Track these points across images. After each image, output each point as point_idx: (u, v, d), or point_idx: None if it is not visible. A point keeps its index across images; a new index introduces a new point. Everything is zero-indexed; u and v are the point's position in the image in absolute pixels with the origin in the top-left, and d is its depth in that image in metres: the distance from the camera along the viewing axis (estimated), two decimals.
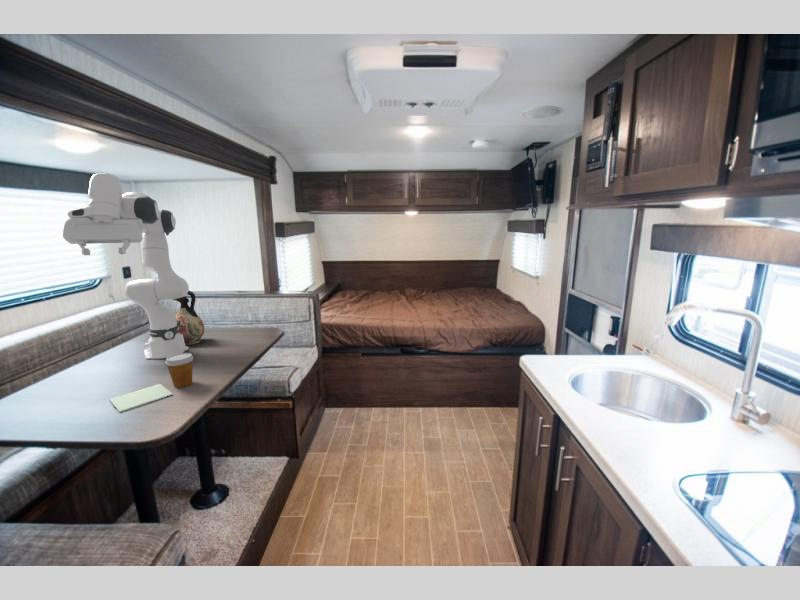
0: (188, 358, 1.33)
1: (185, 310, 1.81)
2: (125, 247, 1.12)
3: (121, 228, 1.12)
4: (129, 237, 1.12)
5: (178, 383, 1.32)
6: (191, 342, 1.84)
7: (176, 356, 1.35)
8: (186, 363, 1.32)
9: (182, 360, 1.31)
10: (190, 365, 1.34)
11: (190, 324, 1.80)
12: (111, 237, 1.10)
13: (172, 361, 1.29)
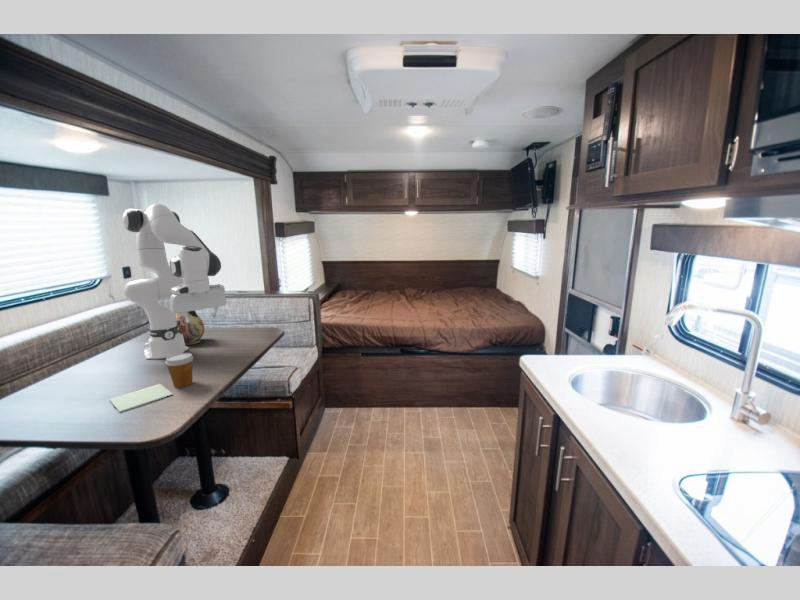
0: (188, 358, 1.33)
1: None
2: None
3: (214, 298, 1.39)
4: (220, 305, 1.41)
5: (178, 383, 1.32)
6: (191, 342, 1.84)
7: (176, 356, 1.35)
8: (186, 363, 1.32)
9: (182, 360, 1.31)
10: (190, 365, 1.34)
11: (190, 324, 1.80)
12: (208, 307, 1.38)
13: (172, 361, 1.29)
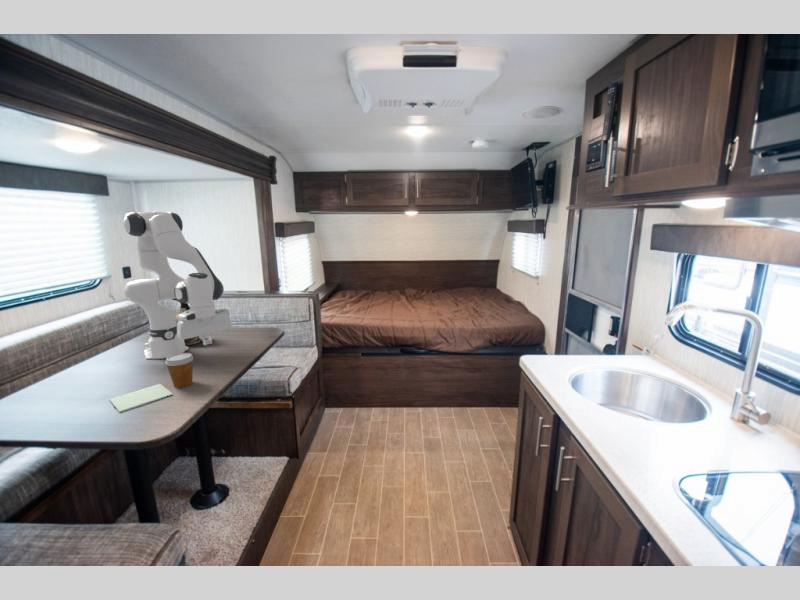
0: (188, 358, 1.33)
1: (185, 310, 1.81)
2: None
3: (219, 323, 1.42)
4: (225, 329, 1.45)
5: (178, 383, 1.32)
6: (191, 342, 1.84)
7: (176, 356, 1.35)
8: (186, 363, 1.32)
9: (182, 360, 1.31)
10: (190, 365, 1.34)
11: None
12: (214, 331, 1.41)
13: (172, 361, 1.29)
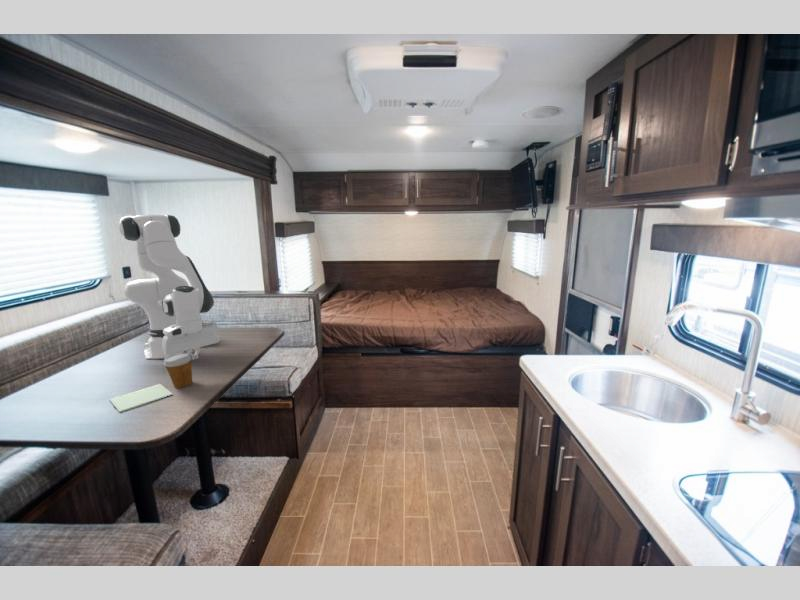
0: (186, 358, 1.32)
1: None
2: None
3: (206, 337, 1.39)
4: (213, 343, 1.41)
5: (178, 383, 1.32)
6: None
7: (174, 356, 1.34)
8: (184, 363, 1.31)
9: (180, 360, 1.30)
10: (188, 365, 1.33)
11: None
12: (200, 346, 1.38)
13: (170, 362, 1.29)
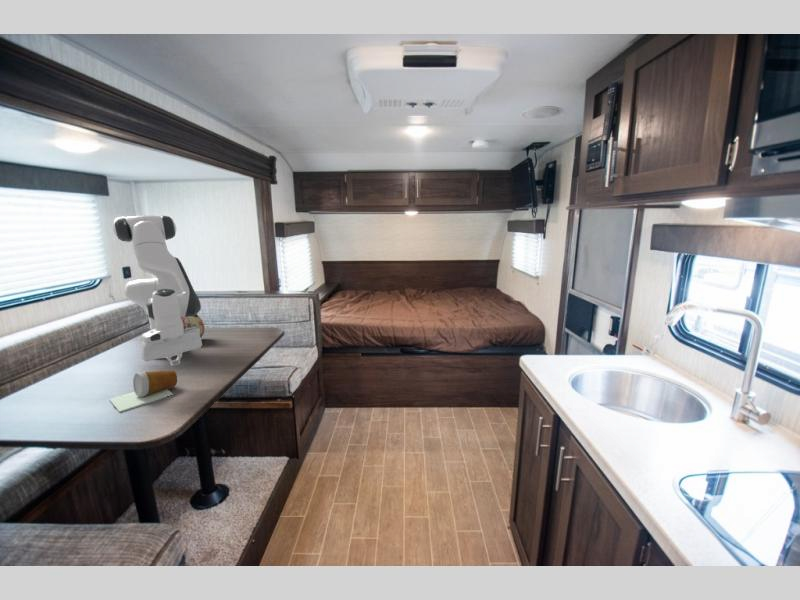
0: (143, 380, 1.22)
1: None
2: None
3: (188, 342, 1.34)
4: (195, 348, 1.36)
5: (170, 385, 1.30)
6: None
7: (136, 384, 1.25)
8: (148, 382, 1.23)
9: (143, 386, 1.21)
10: (153, 377, 1.25)
11: (190, 324, 1.80)
12: (182, 351, 1.33)
13: (141, 394, 1.22)
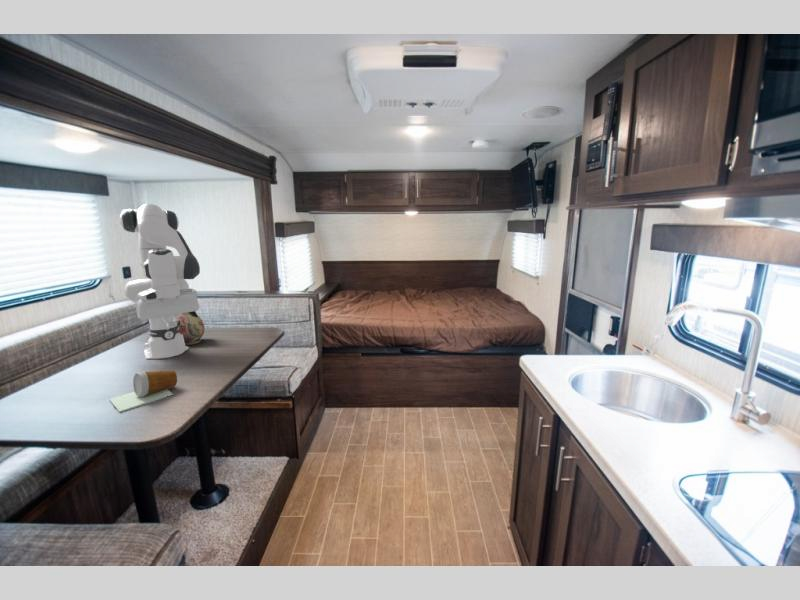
0: (142, 380, 1.22)
1: None
2: None
3: (185, 303, 1.33)
4: (192, 311, 1.35)
5: (170, 385, 1.30)
6: (191, 342, 1.84)
7: (136, 384, 1.25)
8: (148, 382, 1.23)
9: (143, 386, 1.22)
10: (152, 376, 1.25)
11: (190, 324, 1.80)
12: (178, 313, 1.31)
13: (141, 394, 1.22)
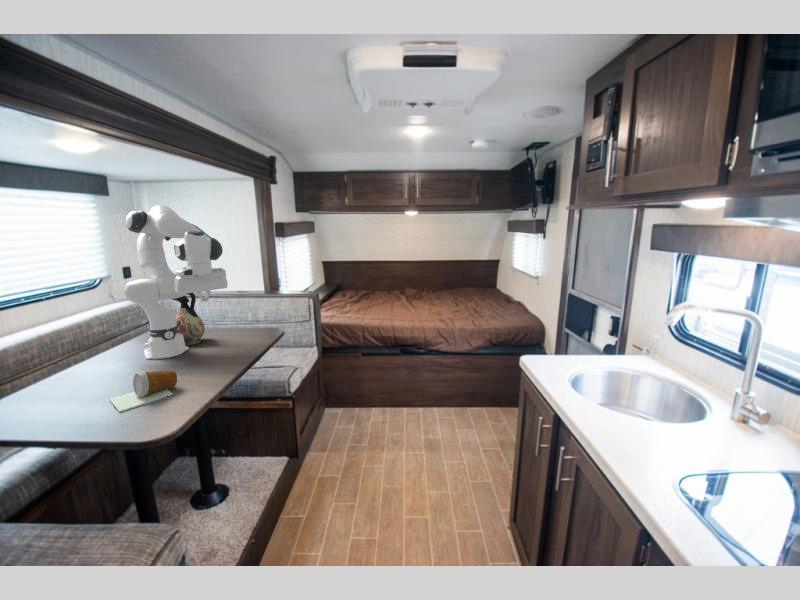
0: (142, 380, 1.22)
1: (185, 310, 1.81)
2: None
3: (215, 281, 1.47)
4: (221, 288, 1.50)
5: (170, 385, 1.30)
6: (191, 342, 1.84)
7: (136, 384, 1.25)
8: (148, 382, 1.23)
9: (143, 386, 1.22)
10: (152, 376, 1.25)
11: (190, 324, 1.80)
12: (210, 289, 1.46)
13: (141, 394, 1.22)
